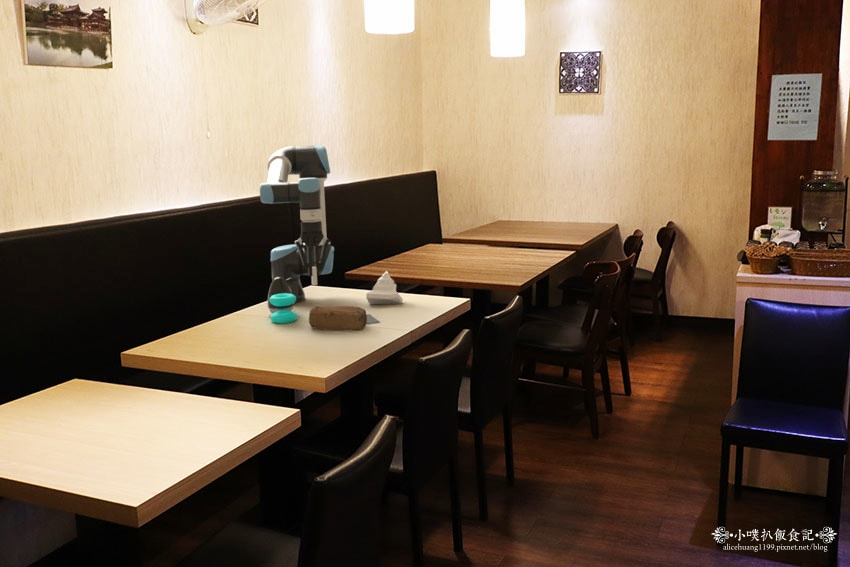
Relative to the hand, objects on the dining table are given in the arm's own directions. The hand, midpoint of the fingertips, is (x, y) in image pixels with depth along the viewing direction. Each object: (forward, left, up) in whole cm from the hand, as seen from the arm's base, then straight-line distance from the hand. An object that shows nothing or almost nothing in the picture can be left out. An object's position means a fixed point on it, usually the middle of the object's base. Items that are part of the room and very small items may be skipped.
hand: (314, 284), depth 291 cm
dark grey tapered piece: (-23, -9, -16) cm, 29 cm away
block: (+2, -2, -11) cm, 12 cm away
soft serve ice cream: (-24, +34, -16) cm, 44 cm away
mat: (0, +12, -15) cm, 20 cm away
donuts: (-12, -10, -16) cm, 22 cm away
